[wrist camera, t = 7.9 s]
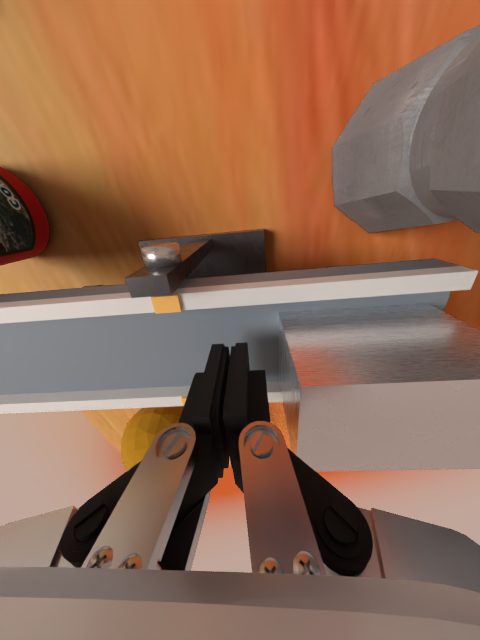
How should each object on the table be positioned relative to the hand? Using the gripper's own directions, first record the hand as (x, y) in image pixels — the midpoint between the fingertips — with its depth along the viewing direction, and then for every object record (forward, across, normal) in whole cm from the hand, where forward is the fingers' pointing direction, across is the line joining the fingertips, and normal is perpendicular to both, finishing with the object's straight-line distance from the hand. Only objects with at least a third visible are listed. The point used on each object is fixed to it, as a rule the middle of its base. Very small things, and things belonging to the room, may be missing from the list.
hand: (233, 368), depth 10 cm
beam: (+3, +3, 0) cm, 4 cm away
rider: (+2, -6, 0) cm, 6 cm away
